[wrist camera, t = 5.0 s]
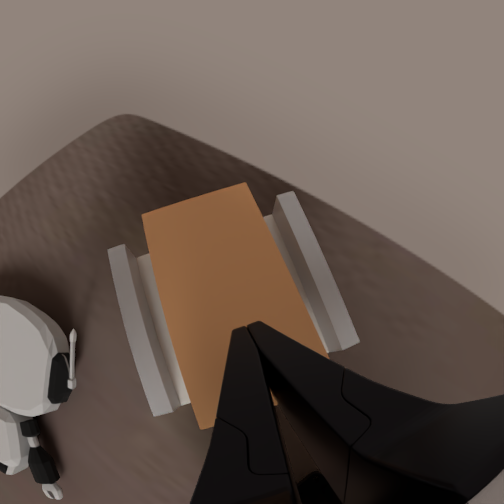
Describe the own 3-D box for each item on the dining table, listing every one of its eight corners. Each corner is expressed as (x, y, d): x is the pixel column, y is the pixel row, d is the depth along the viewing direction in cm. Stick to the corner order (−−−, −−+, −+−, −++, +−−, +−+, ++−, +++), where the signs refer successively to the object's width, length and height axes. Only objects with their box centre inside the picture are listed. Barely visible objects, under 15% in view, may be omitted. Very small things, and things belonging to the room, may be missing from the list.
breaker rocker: (326, 384, 11) (338, 378, 10) (208, 428, 10) (200, 429, 9) (246, 206, 15) (245, 182, 14) (152, 236, 15) (141, 214, 13)
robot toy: (82, 494, 16) (101, 326, 20) (58, 516, 12) (71, 321, 16) (-20, 434, 16) (-6, 286, 20) (-50, 441, 12) (-38, 275, 16)
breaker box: (331, 348, 21) (399, 335, 12) (168, 406, 19) (117, 437, 10) (290, 247, 23) (323, 172, 14) (134, 299, 21) (70, 252, 12)
